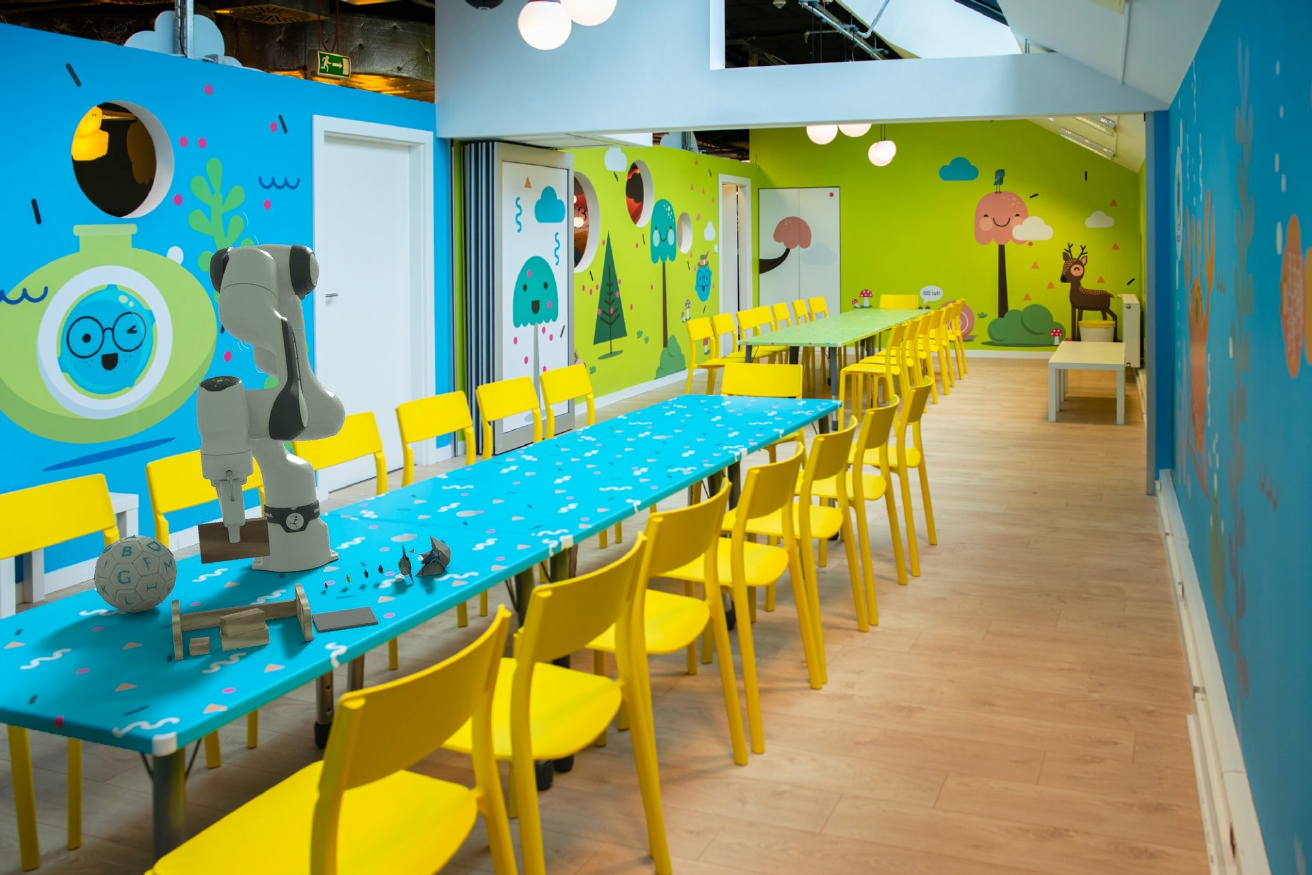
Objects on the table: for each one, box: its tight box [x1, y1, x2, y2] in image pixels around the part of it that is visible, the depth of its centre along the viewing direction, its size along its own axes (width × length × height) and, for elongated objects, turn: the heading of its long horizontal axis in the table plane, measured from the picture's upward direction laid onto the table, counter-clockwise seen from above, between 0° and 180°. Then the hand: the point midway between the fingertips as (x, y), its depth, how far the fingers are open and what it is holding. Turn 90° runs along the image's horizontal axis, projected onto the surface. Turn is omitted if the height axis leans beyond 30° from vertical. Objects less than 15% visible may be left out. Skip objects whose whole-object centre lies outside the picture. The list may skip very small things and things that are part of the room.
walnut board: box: [197, 516, 270, 565], centre depth 212 cm, size 2×12×7 cm, turn 113°
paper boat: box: [409, 534, 452, 577], centre depth 252 cm, size 12×6×9 cm
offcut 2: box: [219, 608, 267, 637], centre depth 207 cm, size 3×7×3 cm, turn 133°
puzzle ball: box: [93, 534, 178, 613], centre depth 227 cm, size 15×15×15 cm
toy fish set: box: [324, 543, 444, 590], centre depth 241 cm, size 11×25×9 cm, turn 122°
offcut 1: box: [188, 636, 211, 656], centre depth 205 cm, size 4×3×2 cm
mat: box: [311, 606, 379, 633], centre depth 220 cm, size 10×11×1 cm
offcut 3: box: [219, 623, 271, 652], centre depth 207 cm, size 3×8×3 cm, turn 117°
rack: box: [171, 583, 314, 661], centre depth 212 cm, size 17×23×6 cm
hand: (234, 539), depth 212 cm, fingers closed on walnut board, 2 cm apart
